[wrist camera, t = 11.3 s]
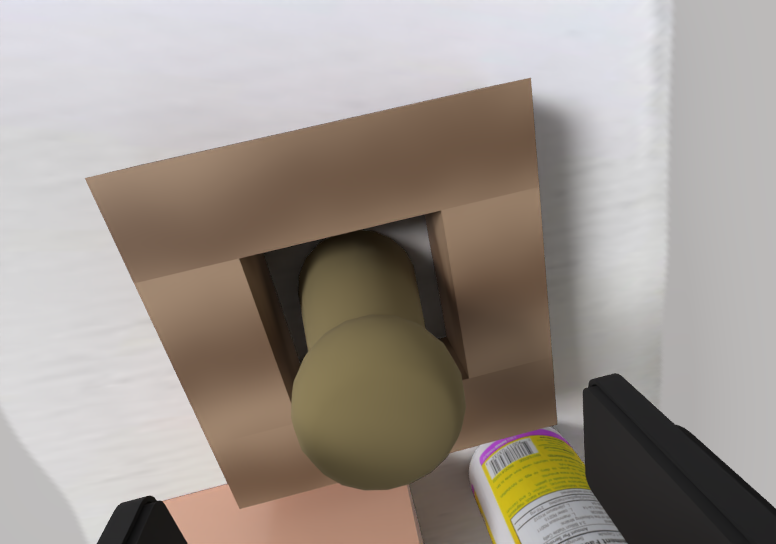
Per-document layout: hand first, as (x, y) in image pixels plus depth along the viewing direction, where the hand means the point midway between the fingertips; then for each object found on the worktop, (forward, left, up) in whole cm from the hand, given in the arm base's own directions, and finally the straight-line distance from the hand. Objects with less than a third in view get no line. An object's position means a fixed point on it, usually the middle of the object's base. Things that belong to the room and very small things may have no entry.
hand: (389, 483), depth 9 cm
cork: (+1, 0, -13) cm, 13 cm away
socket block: (+1, 0, -13) cm, 13 cm away
